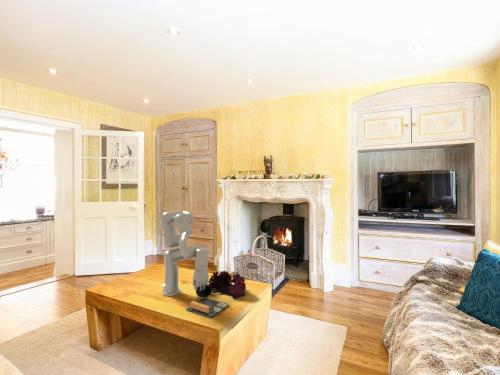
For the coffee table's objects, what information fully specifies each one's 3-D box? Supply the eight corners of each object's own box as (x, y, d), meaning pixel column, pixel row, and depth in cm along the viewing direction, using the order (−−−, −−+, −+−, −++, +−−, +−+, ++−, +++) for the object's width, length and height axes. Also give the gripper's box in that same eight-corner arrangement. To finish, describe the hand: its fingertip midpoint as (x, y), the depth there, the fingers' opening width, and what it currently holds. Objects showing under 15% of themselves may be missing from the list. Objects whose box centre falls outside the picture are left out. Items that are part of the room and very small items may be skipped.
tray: (186, 310, 164) (186, 307, 164) (204, 299, 180) (204, 297, 180) (212, 318, 154) (212, 315, 154) (228, 306, 170) (228, 303, 170)
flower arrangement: (203, 291, 191) (204, 271, 191) (218, 283, 209) (219, 264, 209) (239, 301, 177) (240, 279, 177) (252, 291, 194) (253, 271, 195)
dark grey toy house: (204, 290, 193) (204, 282, 193) (212, 292, 190) (211, 283, 189) (195, 296, 184) (195, 287, 184) (203, 298, 181) (203, 288, 181)
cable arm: (215, 312, 158) (215, 307, 158) (211, 314, 155) (211, 309, 155) (193, 305, 166) (193, 300, 166) (189, 307, 164) (189, 302, 164)
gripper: (205, 263, 173) (204, 290, 174) (188, 269, 161) (187, 298, 162) (213, 266, 169) (213, 293, 169) (196, 272, 157) (195, 301, 157)
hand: (200, 295), depth 166 cm, fingers closed
